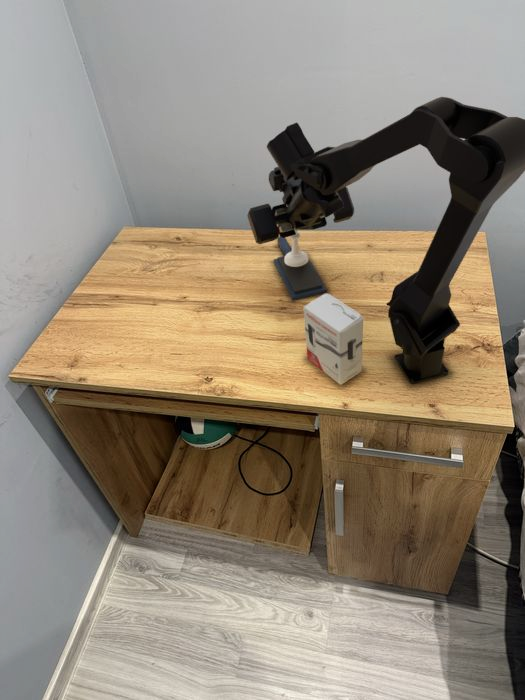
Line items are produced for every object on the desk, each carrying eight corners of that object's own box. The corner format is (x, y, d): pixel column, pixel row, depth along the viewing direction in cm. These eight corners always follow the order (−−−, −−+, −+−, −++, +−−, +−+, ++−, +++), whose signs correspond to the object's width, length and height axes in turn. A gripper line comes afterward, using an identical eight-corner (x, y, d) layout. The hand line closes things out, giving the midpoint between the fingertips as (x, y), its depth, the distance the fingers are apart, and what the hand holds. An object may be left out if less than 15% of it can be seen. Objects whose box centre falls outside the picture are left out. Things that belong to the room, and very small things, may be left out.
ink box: (305, 359, 85) (301, 304, 76) (327, 345, 86) (326, 290, 78) (340, 386, 79) (340, 331, 71) (362, 371, 81) (365, 315, 73)
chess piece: (295, 250, 104) (292, 206, 97) (313, 258, 101) (311, 213, 94) (279, 261, 101) (274, 217, 95) (297, 269, 99) (293, 224, 92)
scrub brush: (327, 292, 97) (326, 283, 96) (292, 300, 96) (291, 292, 95) (295, 239, 112) (295, 231, 111) (265, 245, 111) (265, 238, 110)
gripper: (347, 139, 84) (322, 177, 99) (242, 166, 81) (233, 201, 96) (368, 202, 84) (340, 230, 99) (263, 231, 81) (251, 256, 96)
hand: (291, 228), depth 98 cm, fingers closed on chess piece
